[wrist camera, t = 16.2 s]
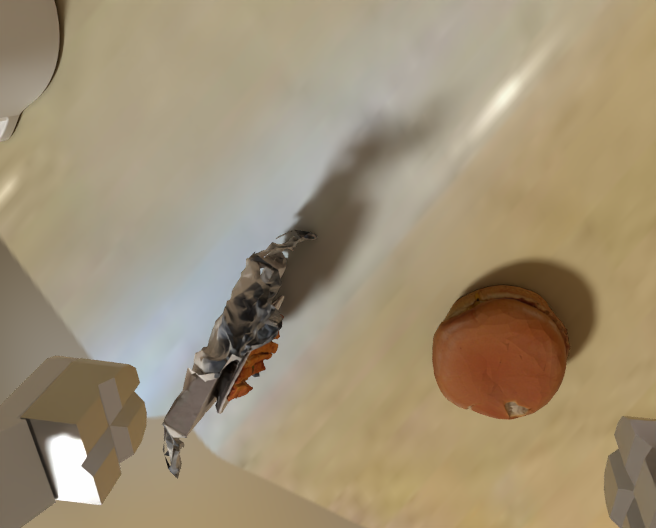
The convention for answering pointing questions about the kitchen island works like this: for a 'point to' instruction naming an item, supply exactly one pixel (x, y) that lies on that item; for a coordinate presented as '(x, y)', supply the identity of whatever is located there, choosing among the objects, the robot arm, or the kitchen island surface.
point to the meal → (232, 346)
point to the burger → (500, 352)
